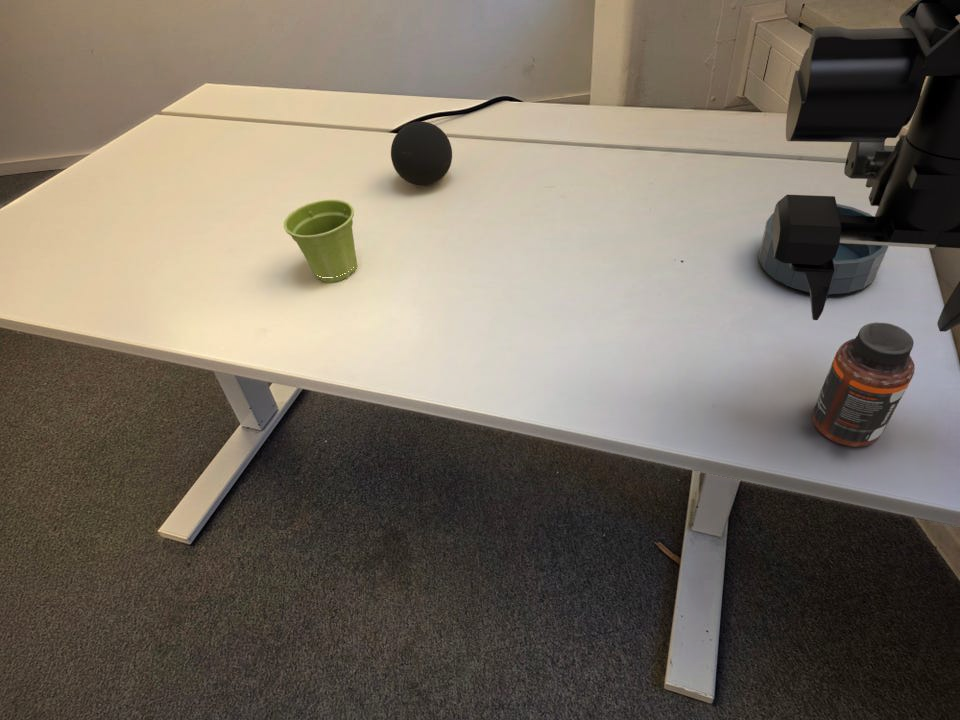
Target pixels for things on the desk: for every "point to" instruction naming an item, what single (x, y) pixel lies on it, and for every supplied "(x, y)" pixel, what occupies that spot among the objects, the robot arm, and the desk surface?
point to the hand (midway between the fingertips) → (876, 322)
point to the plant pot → (325, 237)
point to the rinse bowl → (850, 262)
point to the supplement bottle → (865, 385)
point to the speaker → (421, 153)
